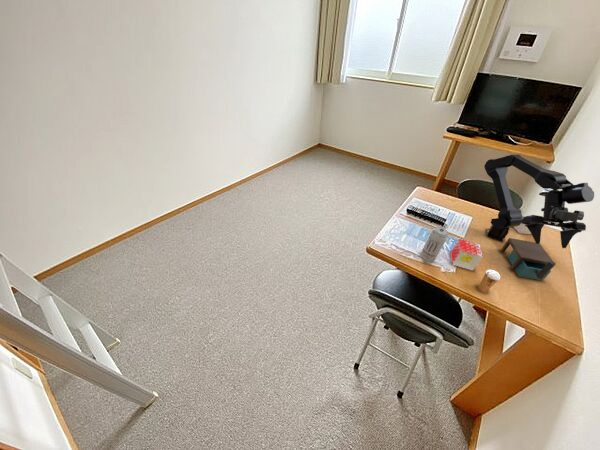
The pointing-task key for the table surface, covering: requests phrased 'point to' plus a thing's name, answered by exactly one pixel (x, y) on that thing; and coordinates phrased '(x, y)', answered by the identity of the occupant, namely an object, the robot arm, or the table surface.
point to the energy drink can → (434, 244)
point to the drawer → (531, 268)
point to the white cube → (522, 229)
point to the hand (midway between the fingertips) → (550, 245)
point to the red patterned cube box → (466, 254)
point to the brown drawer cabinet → (526, 252)
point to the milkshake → (488, 280)
